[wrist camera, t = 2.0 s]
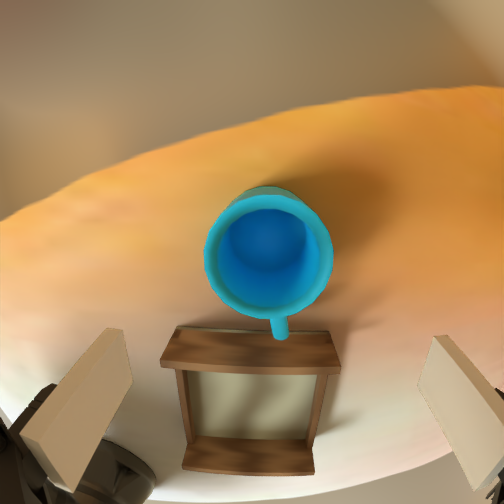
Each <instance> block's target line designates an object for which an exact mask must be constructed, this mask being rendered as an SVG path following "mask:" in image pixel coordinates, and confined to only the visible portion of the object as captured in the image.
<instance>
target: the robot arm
mask: <svg viewBox="0 0 504 504" xmlns="http://www.w3.org/2000/svg"><path fill="white" fill-rule="evenodd" d="M132 383H133V378H132V374H131V369H130V365H129V360H128V355H127V351H126V346H125V340H124V335H123V330H119V329H111V328H106V329H105V331H104V332H103V333H102V334H101V335H100V336H99V337H98V338H97V340H96V341H95V342H94V343H93V344H92V345H91V346H90V348H89V349H88V350H87V351H86V352H85V353H84V355H83V356H82V357H81V358H80V359H79V360H78V362H77V363H76V364H75V365H74V366H73V367H72V369H71V370H70V371H69V372H68V373H67V375H66V376H65V377H64V378H63V379H62V381H61V382H60V383H59V384H58V385H56V384H53V383H52V384H50V385H48V386H47V387H45V388H43V389H42V390H41V391H40V392H39V393H38V394H37V395H36V397H35V398H34V400H32V401H31V403H30V404H29V405H28V407H26V409H25V410H24V411H23V412H22V413H21V415H20V416H19V417H18V418H17V419H16V421H15V422H14V423H13V424H12V426H11V427H10V428H9V429H7V427H6V425H5V424H4V422H3V420H2V419H1V417H0V504H143V503H144V502H145V500H146V499H147V498H148V497H149V496H150V495H151V493H152V492H153V489H154V485H155V482H156V479H155V475H154V473H153V472H152V470H151V469H150V468H149V467H148V466H147V465H146V464H145V463H144V462H143V461H141V460H140V459H139V458H137V457H136V456H135V455H133V454H132V453H130V452H128V451H127V450H125V449H123V448H121V447H119V446H117V445H115V444H112V443H110V442H107V441H104V440H101V439H102V437H103V435H104V433H105V431H106V430H107V428H108V426H109V424H110V422H111V420H112V419H113V417H114V415H115V413H116V411H117V410H118V408H119V406H120V404H121V402H122V400H123V399H124V397H125V395H126V393H127V392H128V390H129V388H130V386H131V384H132ZM417 387H418V388H419V390H420V392H421V393H422V395H423V397H424V399H425V400H426V402H427V404H428V406H429V407H430V409H431V411H432V413H433V414H434V416H435V418H436V420H437V422H438V423H439V425H440V427H441V429H442V431H443V433H444V434H445V436H446V438H447V440H448V442H449V444H450V446H451V448H452V449H453V451H454V453H455V455H456V457H457V459H458V461H459V463H460V465H461V467H462V469H463V471H464V473H465V475H466V477H467V479H468V481H469V483H470V485H471V487H472V489H473V491H477V490H480V489H482V488H484V487H486V486H488V485H490V484H491V482H492V481H493V480H494V479H495V478H496V477H497V475H498V477H499V478H500V481H499V482H498V483H497V485H496V486H495V487H494V488H493V489H492V490H491V491H490V492H489V493H488V495H487V497H486V499H488V498H489V497H490V496H491V495H492V494H493V493H494V492H495V493H494V496H493V498H492V499H491V500H492V504H504V393H503V392H502V391H500V390H499V389H497V388H495V389H494V388H493V387H492V386H491V385H490V383H489V382H488V381H487V380H486V379H485V377H484V376H483V375H482V374H481V373H480V371H479V370H478V369H477V368H476V367H475V366H474V364H473V363H472V362H471V361H470V360H469V359H468V358H467V356H466V355H465V354H464V353H463V352H462V351H461V350H460V349H459V347H458V346H457V345H456V344H455V343H454V342H453V341H452V340H451V339H450V338H449V336H448V335H441V336H433V340H432V343H431V346H430V350H429V353H428V356H427V359H426V362H425V365H424V368H423V371H422V374H421V376H420V379H419V382H418V385H417ZM48 477H49V478H48Z"/></svg>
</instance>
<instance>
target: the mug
mask: <svg viewBox="0 0 504 504" xmlns="http://www.w3.org/2000/svg"><path fill="white" fill-rule="evenodd" d="M333 254H334V250H333V246H332V242H331V239H330V235H329V231H328V230H327V228H326V227H325V225H324V224H323V222H322V221H321V219H320V218H319V217H318V215H317V214H316V213H315V212H314V211H313V210H312V209H311V208H310V207H309V206H308V205H307V204H305V203H304V202H303V201H302V200H301V199H300V198H298V197H297V196H296V195H294V194H293V193H292V192H290V191H288V190H285V189H282V188H279V187H276V186H260V187H257V188H254V189H251V190H247V191H245V192H244V193H243V194H241V195H240V196H238V197H237V198H236V199H234V200H233V201H232V202H231V204H230V205H229V206H228V207H227V208H226V209H225V210H224V211H223V212H222V213H221V215H220V216H219V218H218V219H217V220H216V222H215V223H214V225H213V226H212V228H211V229H210V231H209V233H208V237H207V240H206V244H205V247H204V266H205V272H206V274H207V277H208V280H209V282H210V285H211V287H212V289H213V290H214V291H215V292H216V294H217V295H218V296H219V297H220V298H221V300H222V301H223V302H224V303H225V304H227V305H228V306H230V307H231V308H233V309H234V310H236V311H237V312H239V313H241V314H244V315H248V316H251V317H254V318H258V319H270V324H271V329H272V333H273V336H274V338H275V339H277V340H285V339H287V338H288V337H289V327H288V320H287V316H289V315H293V314H296V313H298V312H299V311H301V310H303V309H304V308H306V307H307V306H309V305H310V304H312V303H313V302H314V301H315V300H316V298H317V297H318V296H319V295H320V294H321V292H322V291H323V290H324V289H325V287H326V285H327V282H328V280H329V277H330V275H331V273H332V269H333Z"/></svg>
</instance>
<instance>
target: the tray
mask: <svg viewBox="0 0 504 504" xmlns="http://www.w3.org/2000/svg"><path fill="white" fill-rule="evenodd" d="M160 364H161V367H163V368H172V369H175V372H176V379H177V386H178V392H179V398H180V405H181V410H182V416H183V422H184V427H185V433H186V438H187V443H188V444H187V448H186V452H185V456H184V459H183V463H182V469H183V470H190V471H198V472H207V473H217V474H229V475H245V476H307V475H314V473H315V468H314V460H313V453H312V447H313V443H314V438H315V434H316V430H317V425H318V421H319V416H320V412H321V407H322V402H323V397H324V392H325V387H326V382H327V377H328V374H340V370H341V364H340V361H339V359H338V356H337V353H336V350H335V347H334V344H333V341H332V338H331V336H330V333H329V331H289V337H288V338H287V339H285V340H277V339H275V338H274V336H273V333H272V331H257V330H231V329H212V328H195V327H181V326H177V327H176V329H175V331H174V333H173V335H172V337H171V339H170V341H169V343H168V345H167V347H166V349H165V351H164V353H163V354H162V356H161V358H160Z"/></svg>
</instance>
